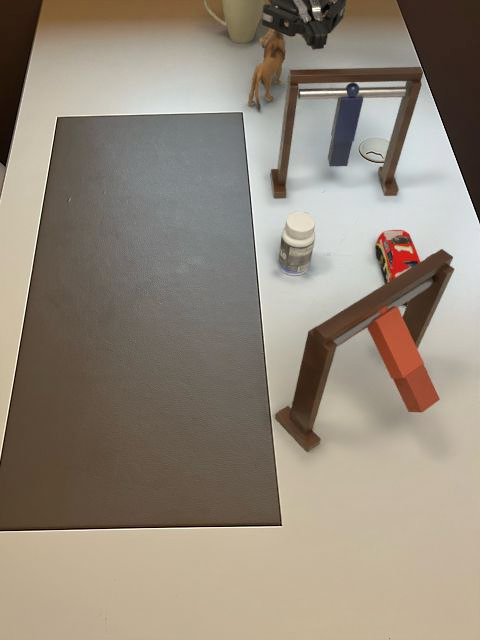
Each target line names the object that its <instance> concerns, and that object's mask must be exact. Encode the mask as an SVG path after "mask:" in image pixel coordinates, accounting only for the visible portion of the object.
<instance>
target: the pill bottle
mask: <svg viewBox="0 0 480 640" xmlns="http://www.w3.org/2000/svg"><path fill="white" fill-rule="evenodd" d="M315 227H316V220H315V218H314V217H313V216H312V215H311V214H309V213H307V212H303V211H295V212H292V213H290V214H288V216H287V217H286V220H285V223H284V227H283V229H282V230H281V236H280V244H279V250H278V256H277V257H278V258H277V266H278V268H279V270H280V271H281V272H282V273H284V274H286V275H289V276H301V275H303V274H305V273H306V272H307V271H308V270H309V268H310V266H311V261H312V256H313V251H314V246H315V242H316V241H315V240H316V232H315Z"/></svg>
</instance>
